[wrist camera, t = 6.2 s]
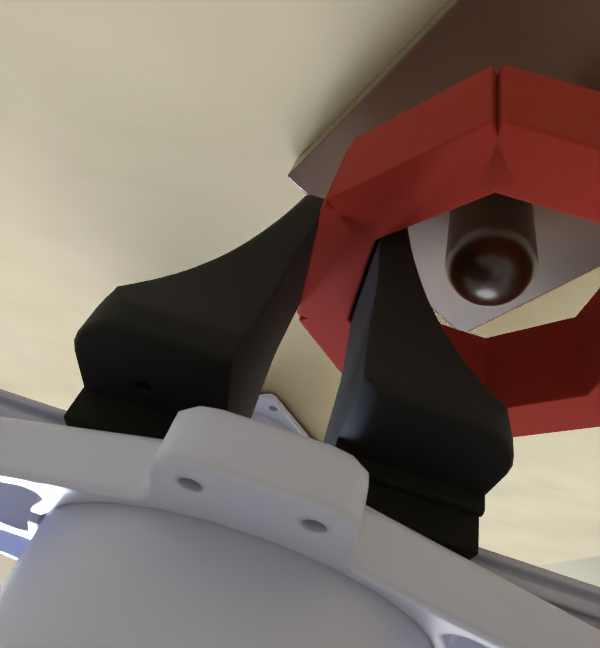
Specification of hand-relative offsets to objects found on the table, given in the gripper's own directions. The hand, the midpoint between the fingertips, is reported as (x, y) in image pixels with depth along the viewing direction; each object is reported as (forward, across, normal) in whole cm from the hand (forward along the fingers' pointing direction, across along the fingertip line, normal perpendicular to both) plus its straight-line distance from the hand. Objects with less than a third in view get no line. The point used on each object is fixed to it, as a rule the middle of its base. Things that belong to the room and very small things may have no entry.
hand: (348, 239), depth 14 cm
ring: (+1, -4, 0) cm, 4 cm away
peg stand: (+6, -4, 0) cm, 7 cm away
